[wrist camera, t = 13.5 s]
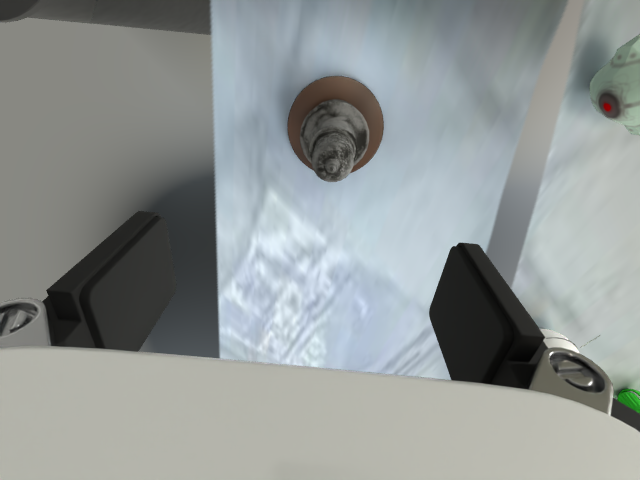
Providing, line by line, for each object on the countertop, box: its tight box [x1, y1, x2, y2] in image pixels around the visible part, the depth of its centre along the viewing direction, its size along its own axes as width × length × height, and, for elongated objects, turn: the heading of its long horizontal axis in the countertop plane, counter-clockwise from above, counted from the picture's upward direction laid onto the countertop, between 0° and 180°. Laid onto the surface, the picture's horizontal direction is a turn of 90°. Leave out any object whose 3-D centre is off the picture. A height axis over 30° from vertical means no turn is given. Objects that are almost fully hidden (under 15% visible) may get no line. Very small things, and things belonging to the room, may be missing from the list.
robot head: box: [590, 34, 640, 135], centre depth 26 cm, size 8×4×7 cm, turn 31°
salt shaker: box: [300, 99, 369, 182], centre depth 26 cm, size 6×6×12 cm
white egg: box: [540, 329, 600, 354], centre depth 40 cm, size 10×7×7 cm
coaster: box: [288, 76, 384, 173], centre depth 31 cm, size 9×9×1 cm
